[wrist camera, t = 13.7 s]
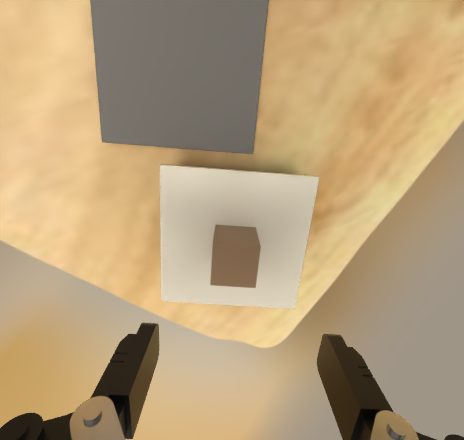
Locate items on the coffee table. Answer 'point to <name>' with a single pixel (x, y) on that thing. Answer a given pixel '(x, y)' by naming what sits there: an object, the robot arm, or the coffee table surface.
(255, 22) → the rubber mat
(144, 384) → the robot arm
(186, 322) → the coffee table surface
